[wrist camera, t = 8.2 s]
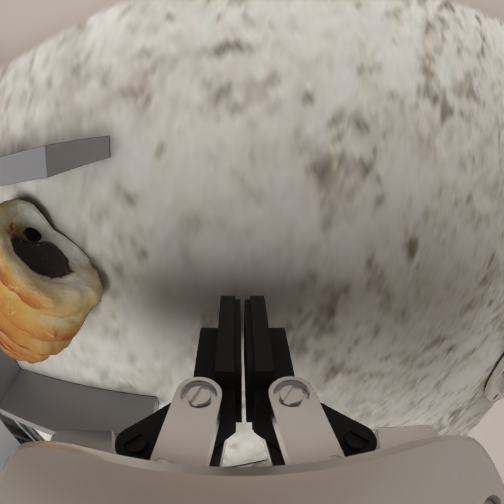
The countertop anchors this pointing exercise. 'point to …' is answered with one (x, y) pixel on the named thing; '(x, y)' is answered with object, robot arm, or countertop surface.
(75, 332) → the pastry
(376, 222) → the countertop surface
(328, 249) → the countertop surface
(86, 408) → the box
